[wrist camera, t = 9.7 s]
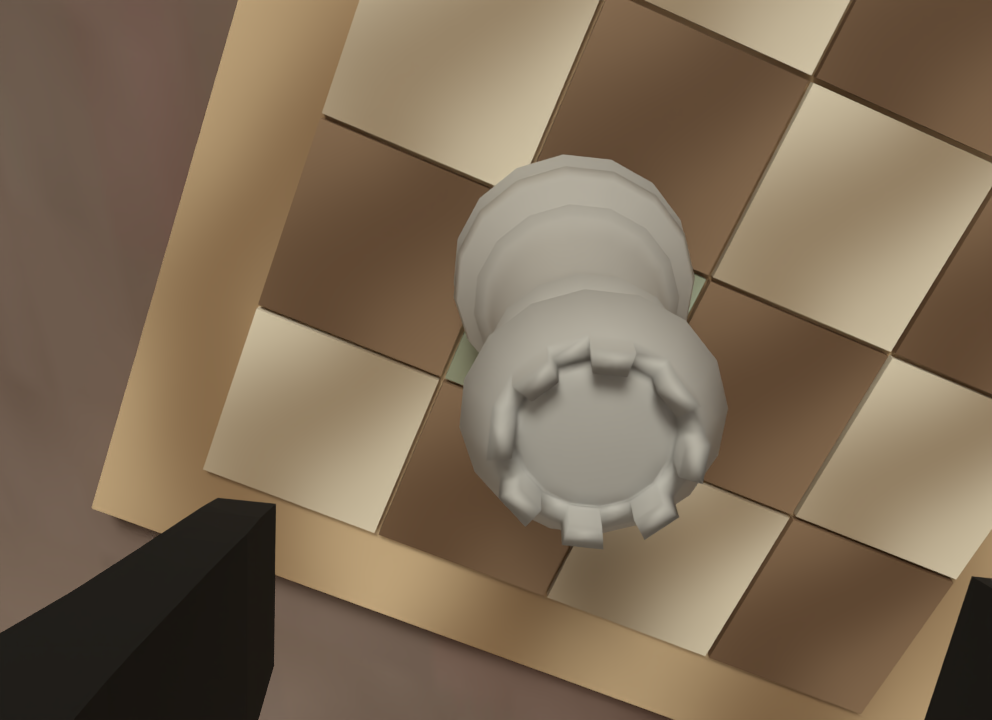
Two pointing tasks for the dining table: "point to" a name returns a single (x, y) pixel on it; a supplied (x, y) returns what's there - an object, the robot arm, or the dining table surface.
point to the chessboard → (712, 315)
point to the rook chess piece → (584, 351)
